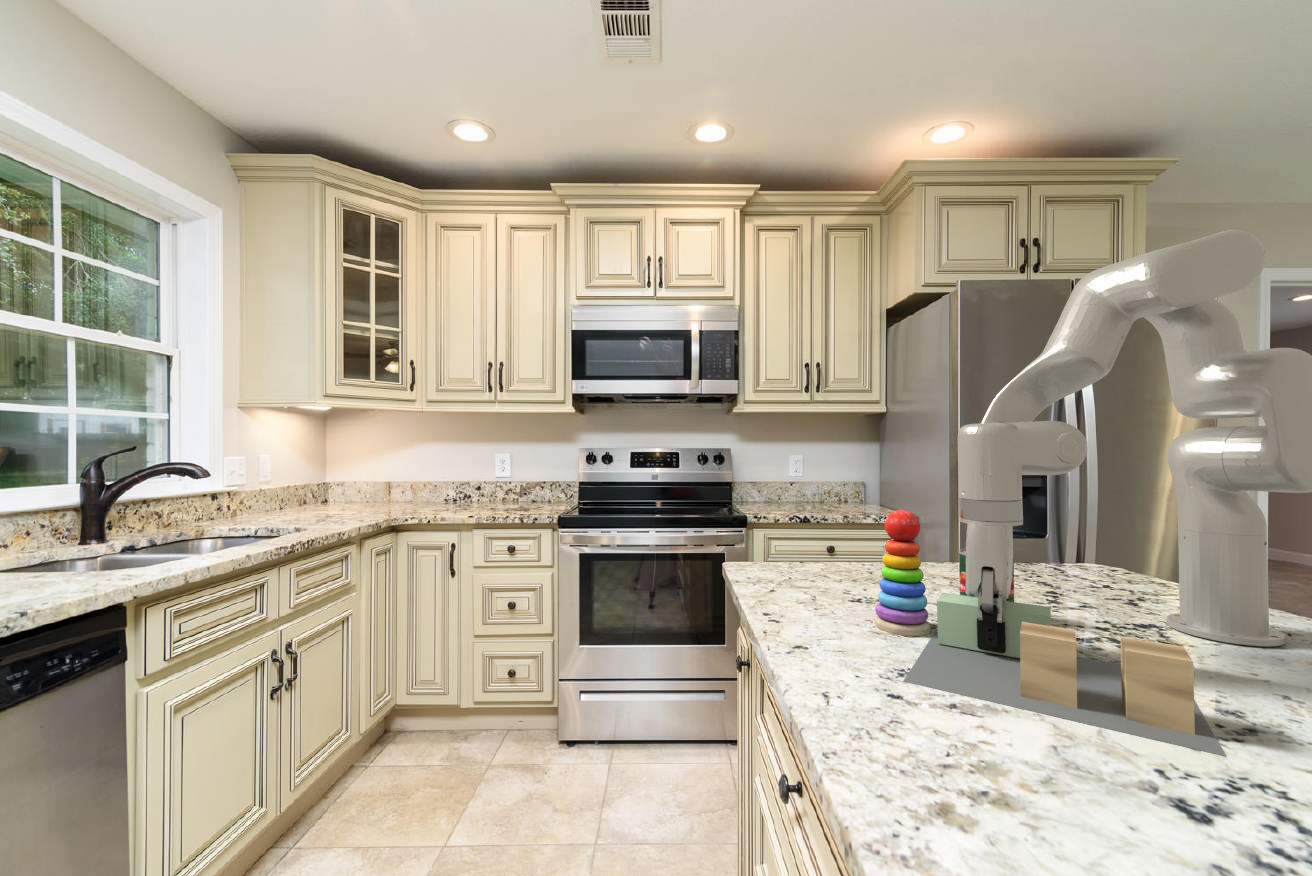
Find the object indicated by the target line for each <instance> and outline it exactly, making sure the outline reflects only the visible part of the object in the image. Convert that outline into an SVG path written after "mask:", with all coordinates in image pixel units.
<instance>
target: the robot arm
mask: <svg viewBox="0 0 1312 876" xmlns="http://www.w3.org/2000/svg"><path fill="white" fill-rule="evenodd" d="M1266 257H1267V256H1266V250H1265V248H1264V245H1263V243H1262V242H1261V241H1260V240H1259V239H1258V238H1257V236H1255V235H1253V234H1252V233H1250V232H1247V231H1245V230H1240V229H1226V230H1223V231H1220V232H1216V233H1214V234H1213V233H1212V234H1210V235H1207V236H1204V237H1200V238H1196V239H1194V240H1189V241H1188V242H1183V243H1178V244H1175V245H1172V246H1171V245H1170V246H1167V247H1164V248H1159V249H1155V250H1152V251H1151V250H1150V251H1148V252H1145V253H1142V254H1140V255H1139V254H1138V255H1135V256H1133V257H1130V258H1128V259H1124V260H1121V261H1118V262H1115V263H1111V264H1108V265H1105V266H1102V267H1100V268H1097V269H1095V270H1093V271H1091V272H1088V273H1087V274H1086V275H1084V276H1083V277H1081V278H1080V280H1079V281H1077V283H1076V284H1075V286H1074V288H1073V289H1072V291H1071V293H1070V295H1069V297H1068V299H1067V301H1066V303H1065V306H1064V308H1063V310H1062V312H1061V313H1060V316H1059V319H1058V321H1057V323H1056V325H1055V326H1054V328H1053V330H1052V332H1051V335H1050V336H1049V339H1048V340H1047V343H1046V345H1045V347H1044V348H1043V351H1042V352H1041V354H1039V355H1038V357H1037V358H1035V359H1034V360H1032V361H1031V362H1030V363H1028V364H1027V366H1026V367H1024V368H1023V369H1022V370H1021V371H1020V372H1019V373H1018V374H1017V375H1016V376H1014V378H1012V379H1011V380H1010V381H1009V382H1008V383H1007V384H1005V385H1004V386H1003V388H1002V389H1000V391H999V392H998V393H997V394H996V396H995V397H994V398H993V399H992V401H991V402H990V404H989V406H988V408H987V410H986V412H985V414H984V416H983V418H982V420H981V422H980V423H970V424H969V423H968V424H965V425H963V426H961V427H960V428H959V430H958V433H957V471H958V472H957V473H958V474H957V475H958V477H957V479H958V482H957V483H958V515H959V516H958V517H959V522H960V523H963V524H967V525H966V535H965V537H966V541H965V549H966V588H965V592H966V594H967V595H968V596H970V597H971V596H972V595H973V594H974V595H975V593H976V591H977V589H978V618H977V646H978V648H979V649H981V650H986V651H992V652H997V653H1005V651H1006V639H1005V622H1003V601H1006V599H1007V598H1008V596H1009V593H1010V589H1011V582H1012V571H1013V555H1014V542H1013V541H1014V540H1013V539H1014V537H1013V536H1014V535H1013V533H1014V532H1013V527H1017V526H1022V525H1024V515H1023V514H1024V513H1023V512H1024V511H1023V510H1024V508H1023V483H1022V482H1023V479H1022V478H1023V476H1022V475H1023V474H1025V475H1026V474H1027V475H1036V476H1037V475H1039V476H1059V475H1064V474H1067V473H1070V472H1072V471H1074V470H1076V469H1077V468H1078V467H1080V466H1081V465H1082V464H1083V462H1084V461H1085V459H1086V457H1087V455H1088V447H1089V446H1088V443H1087V441H1088V440H1087V438H1086V437H1085V436H1084V434H1083V433H1082V432H1081V431H1080V430H1079V429H1078V428H1077V427H1075V426H1074V425H1072V424H1070V423H1067V422H1063V421H1058V420H1040V421H1039V420H1038V421H1037V420H1036V421H1035V419H1036V418H1037V416H1038V415H1039V414H1041V413H1042V412H1043V411H1045V410H1046V409H1047V408H1048V407H1050V406H1051V405H1053V404H1054V403H1055V402H1057V401H1060V400H1062V399H1064V398H1066V397H1067V396H1070V395H1073V394H1074V393H1077V392H1080V391H1081V390H1084V389H1085V388H1087V387H1089V386H1091V385H1093V384H1094V383H1096V382H1098V381H1100V380H1102V379H1103V378H1105V376H1107V375H1108V374H1109V373H1110V372H1111V370H1112V368H1113V366H1114V364H1115V361H1116V359H1117V358H1118V357H1119V356H1118V355H1119V354H1120V351H1121V349H1122V347H1123V344H1124V342H1125V340H1126V338H1127V336H1128V334H1129V332H1130V330H1131V327H1132V325H1133V323H1134V322H1135V321H1137V320H1138V319H1140V318H1144V319H1146V320H1147V321H1148V322H1149V323H1150V324H1151V325H1152V326H1153V327H1154V328H1155V329H1156V331H1157V333H1158V334H1159V337H1160V339H1161V342H1162V346H1163V352H1164V358H1165V364H1166V371H1167V379H1168V382H1169V390H1170V395H1171V399H1172V402H1173V406H1174V407H1175V409H1176V411H1177V412H1178V413H1179V414H1180V415H1182V416H1184V417H1186V418H1190V419H1191V418H1192V419H1200V420H1206V419H1207V420H1209V419H1210V420H1211V419H1212V420H1215V419H1236V418H1237V419H1238V418H1262V419H1263V422H1264V425H1249V426H1247V425H1241V426H1240V425H1239V426H1238V425H1235V426H1234V425H1233V426H1231V425H1230V426H1210V427H1201V428H1195V429H1191V430H1188V431H1185V432H1183V433H1181V434H1179V435H1178V436H1176V437H1175V438H1174V439H1172V441H1171V442H1170V445H1169V447H1168V449H1167V464H1168V468H1169V470H1170V471H1169V472H1170V475H1171V477H1172V483H1173V485H1174V491H1175V496H1176V497H1175V498H1176V506H1177V507H1176V508H1177V536H1178V537H1177V538H1178V539H1177V541H1178V586H1179V587H1178V588H1179V589H1178V591H1179V598H1178V599H1179V613H1171V614H1168V615H1167V616H1166V624H1167V625H1168V626H1169V627H1170V628H1172V629H1174V630H1176V631H1179V632H1181V633H1184V634H1187V635H1191V636H1195V637H1199V638H1202V639H1207V640H1210V641H1211V640H1212V641H1217V642H1221V643H1226V644H1234V645H1243V646H1251V647H1266V648H1268V647H1269V648H1270V647H1278V646H1279V647H1280V646H1283V645H1284V644H1286V635H1285V634H1284V633H1283V632H1281V631H1279V630H1277V629H1274V628H1272V627H1270V615H1269V614H1270V612H1269V611H1270V610H1269V604H1270V603H1269V602H1270V601H1269V571H1268V570H1269V567H1268V564H1269V563H1268V526H1267V520H1266V516H1265V515H1264V513H1263V511H1262V509H1261V508H1260V507H1259V505H1258V504H1257V503H1256V501H1255V500H1254V499H1253V497H1252V496H1251V495H1250V494H1249V493H1248V492H1247V491H1249V492H1250V491H1251V492H1253V491H1254V492H1267V493H1288V494H1289V493H1290V494H1304V493H1306V494H1307V493H1308V494H1309V493H1312V355H1311V354H1310V353H1308V352H1307V351H1304V350H1302V349H1298V348H1292V347H1275V348H1267V349H1266V348H1265V349H1259V350H1252V351H1246V349H1245V346H1244V344H1243V342H1244V341H1243V339H1242V333H1241V329H1240V324H1239V321H1238V318H1237V316H1236V315H1235V314H1234V312H1233V311H1231V309H1230V308H1229V307H1228V306H1226V304H1224V303H1222V302H1221V301H1219V298H1222V297H1224V296H1228V295H1231V294H1235V293H1238V292H1239V291H1243V290H1244V289H1246V288H1248V287H1250V285H1252V284H1254V282H1255V281H1256V280H1257V279H1258V278H1259V277H1260V275H1261V274H1262V273H1263V270H1264V268H1265V264H1266ZM994 603H997V606H996V605H994Z"/></svg>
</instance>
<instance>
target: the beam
mask: <svg viewBox="0 0 1312 876" xmlns="http://www.w3.org/2000/svg"><path fill="white" fill-rule="evenodd" d="M994 605H996V606H997V603H994ZM1051 607H1052V606H1045V605H1038V604H1031V603H1030V604H1029V603H1022V602H1015V601H1014V602H1009V601H1003V622H1005V639H1006V651H1005V653H997V652H992V651H986V650H981V649H979V648H978V646H977V618H978V597H970V596H963V595H960V594H954V593H947V592H946V593H945V592H942V593H941V595H940V596H939V597H938V599H937V600H936V615H937V616H936V619H937V622H936V623H937V624H936V625H937V632H938V644H944V645H949V646H955V647H960V648H966V649H971V650H977V651H982V652H988V653H994V654H999V655H1005V656H1010V657H1016V658H1020V630H1021V624H1022V622H1027V623H1033V624H1040V625H1046V626H1052V616H1051V615H1052V613H1051Z"/></svg>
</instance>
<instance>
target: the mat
mask: <svg viewBox="0 0 1312 876" xmlns="http://www.w3.org/2000/svg"><path fill="white" fill-rule="evenodd" d="M1076 662H1077V708H1072V707H1068V706H1063V705H1059V704H1054V703H1050V702H1045V701H1041V700H1036V699H1032V698H1027V697H1023V696H1021V676H1020V658H1016V657H1010V656H1005V655H999V654H994V653H988V652H982V651H977V650H971V649H966V648H960V647H955V646H949V645H944V644H938V631H934V633H933V634H932V636H931V637H930V638H929V640H928V642H927V644H926V645H925V646H924V648H923V650H922V652H921V653H920V655H918V657H917V659H916V661H915V662H914V664H913V665H912V667H911V668H910V670H909V671H908V673H907V675H906V676H905V678H904V679H903V682H904V683H908V684H911V685H912V684H913V685H915V686H920V687H921V686H922V687H925V688H930V689H932V690H933V689H935V690H938V691H943V692H947V693H951V694H954V695H959V696H963V697H968V698H973V699H977V700H980V701H986V702H989V703H993V704H998V705H1003V706H1007V707H1011V708H1015V709H1020V710H1023V711H1029V712H1032V713H1037V714H1041V715H1045V716H1048V717H1054V718H1058V719H1062V720H1067V721H1072V722H1076V723H1080V724H1082V725H1083V724H1084V725H1088V726H1093V727H1097V728H1102V729H1105V730H1109V731H1113V732H1118V733H1122V734H1127V735H1131V736H1135V737H1139V738H1144V739H1148V740H1153V741H1157V742H1161V743H1165V744H1170V745H1174V746H1179V747H1181V748H1182V747H1184V748H1186V749H1191V750H1195V751H1200V752H1205V753H1208V754H1213V755H1216V756H1221V757H1225V758H1226V757H1227V755H1226V754H1225V751H1224V749H1223V748H1222V746H1221V745H1220V743H1219V741H1218V739H1217V738H1216V736H1215V734H1214V732H1213V731H1212V729H1211V727H1210V725H1209V724H1208V721H1207V720H1206V719H1205V717H1204V714H1203V713H1202V711H1201V710H1200V707H1199V706H1198V704H1197V702H1196V700H1195V699H1194V720H1195V735H1194V734H1189V733H1185V732H1180V731H1176V730H1171V729H1167V728H1162V727H1158V726H1153V725H1149V724H1144V723H1140V722H1135V721H1131V720H1127V719H1126V715H1125V712H1124V708H1123V704H1122V690H1121V663H1117V662H1116V663H1115V662H1111V661H1105V660H1101V659H1100V660H1099V659H1095V658H1088V657H1082V656H1077V655H1076Z"/></svg>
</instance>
